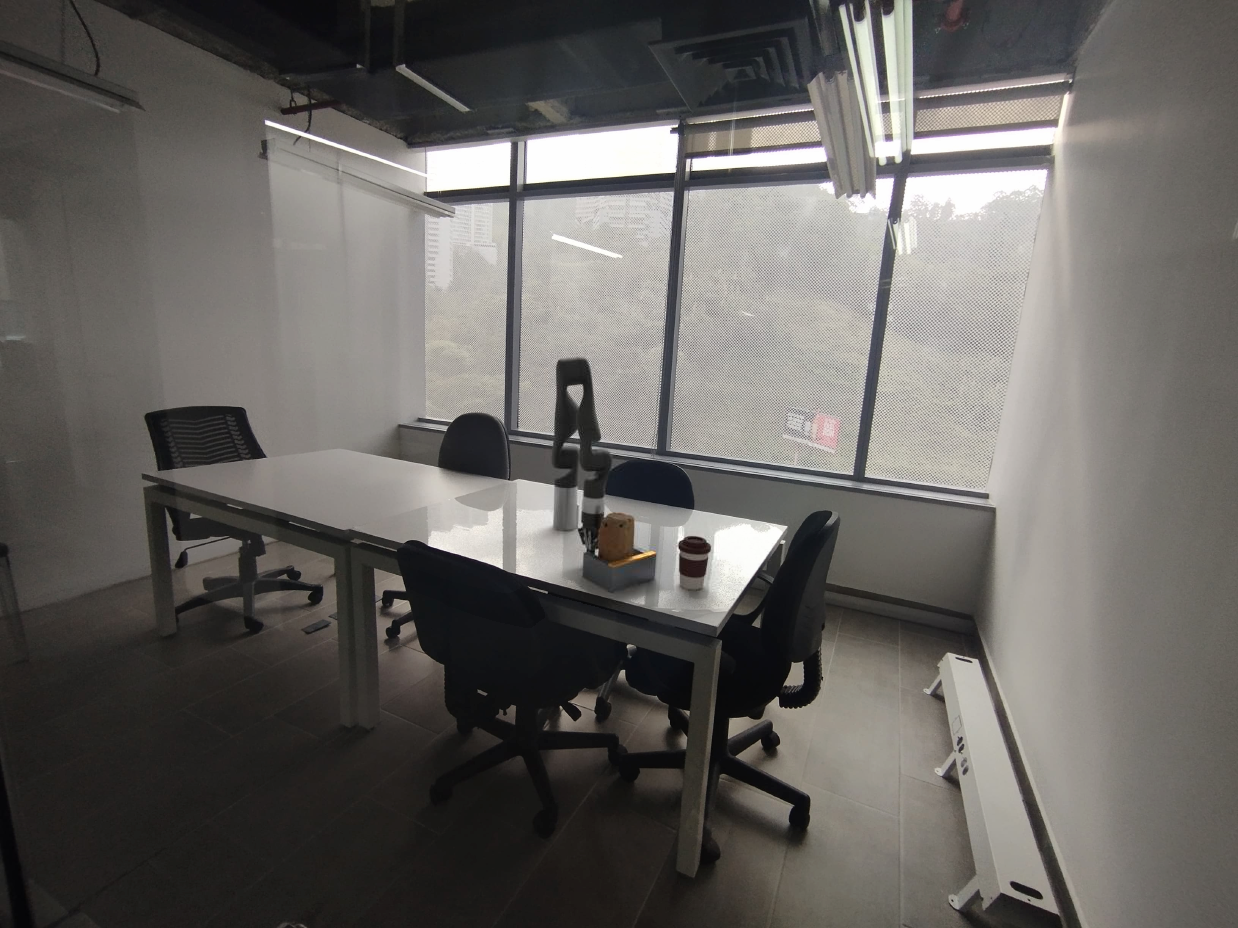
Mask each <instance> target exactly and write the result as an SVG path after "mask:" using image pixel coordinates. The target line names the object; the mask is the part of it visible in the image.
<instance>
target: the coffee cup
mask: <svg viewBox="0 0 1238 928" xmlns="http://www.w3.org/2000/svg"><path fill="white" fill-rule="evenodd" d="M677 547H678V550H679V554H678V573H679V585H680V586H681V587H682V588H684V589H686V590H693V591H695V590H696V591H697V590H700V589H702V588H703V586H704V582H705V576H706V574H707V568H708V563H709V562H708V561H709V553H711V551H712V550H711V549H712V545H711V543H709V542H707V539H705V538H704V537H701V536H697V535H689V536H685V537H684V538H683V539H681V540H679V541H678V545H677Z"/></svg>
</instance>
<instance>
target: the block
mask: <svg viewBox="0 0 1238 928" xmlns="http://www.w3.org/2000/svg"><path fill="white" fill-rule="evenodd" d="M598 540H599V542H598V549H597V550H598V553H597V556H599V557H601V558H603V559H605V560H607V561H609V562H615V561H619V560H622V559H626V558H629V557H633V549H634V546H635V545H634V544H635V517H634V516H632V515H631V514H625V513H623V512H611V513H608V514H606V516H604V518H603V520H602V522H601V526H600V529H599V538H598Z"/></svg>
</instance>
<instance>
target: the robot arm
mask: <svg viewBox="0 0 1238 928" xmlns="http://www.w3.org/2000/svg"><path fill="white" fill-rule="evenodd" d="M592 377H593V376H592V368H591V364H590V362H589V359H588V358H586V356H571V357H563V358H560V359H558V360H557V363H556V366H555V385H556V386H555V387H556V395H555V396H556V397H555V406H554V407H555V409H554V419H553V420H554V424H553V425H554V427H553V428H554V431H553V444H552V447H551V448H552V450H551V456H550V457H551V459H550V460H551V465H552V467H553V468H555V469H558V470H569V471H568V472H566V473H565V474H562V475H558V476H556V477H555V479H554V490H553V516H552V519H553V520H552V527H553V529H555V530H557V531H573V530H575V529H576V528H577V533H578V536H579V537H580V538H579V539H580V541H581V543H582V545H583V546H585V549H586V550H585V551H586V552H591V553H593V554H595V555H596V550H598V542H599V540H598V538H599V529H600V526H601V522H602V520H603V518H604V517H605V512H606V511H605V510H606V507H605V506H606V499H605V497H606V496H605V494H606V485H607V482H608V478H609V475H610V472H611V469H612V466H613V455H612V453H611V452H610V451H609V449H606V448H596V449H595V448H594V449H593V447H592V445H594V444H597V443H599V442H600V441H601V440H602V434H601V429H600V426H599V422H598V421H599V420H598V417H597V411H596V404H595V393H594V383H593V378H592ZM579 385H580V386H581V385H582V390H583V391H582V392H583V393H582V398H581V401H580V404H578V402H576V401H575V400H574V398H573V397H572V396H571V394H570V393H569V391H568V387H572V386H579ZM576 432H577V433H578V436H579V447H578V446H577V445H567V444H566V445H565V443H566V442H567V441H568V440H569V439H570V438H571V437H572V436H574V434H576ZM579 467H580V468H581V469H582V470H583V471H584V472H588V473H589V472H594V474H593V475H592V476H589V477H587V478H585V479H584V481H583V491H582V493H583V494H582V500H581V513H580V512H579V511H580V504H579V503H578V491H579V490H578V488H579V486H578V485H579ZM579 513H580V514H579ZM580 515H581V516H580ZM579 516H580V523H581V524H582V525H581V527H579Z"/></svg>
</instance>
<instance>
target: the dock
mask: <svg viewBox="0 0 1238 928" xmlns="http://www.w3.org/2000/svg"><path fill="white" fill-rule="evenodd" d="M582 560H583V561H582V576H581V577H582V578H584V579H585V580H587V581H588V582H591V583H593V584H594V585H596V586H599V587H600V588H602V589H603V590H605V591H607V592H609V593H610V592H611V594H613V593H616V592H619V591H623V590H625V589H628V588H632V587H634V586H637V585H640V584H644V583H646V582H650V581H652V580H655V579H656V564H657V552H654V551H652V550H651V551H648V550H646V549H643V548H641V547H639V546H636V545H634V549H633V557H629V558H626V559H622V560H619V561H615V562H609V561H607V560H605V559H603V558H601V557H599V556H598V554H596V553H595V554H593V553H591V552H585V551H584V552H583V557H582ZM615 591H616V592H615Z"/></svg>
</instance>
